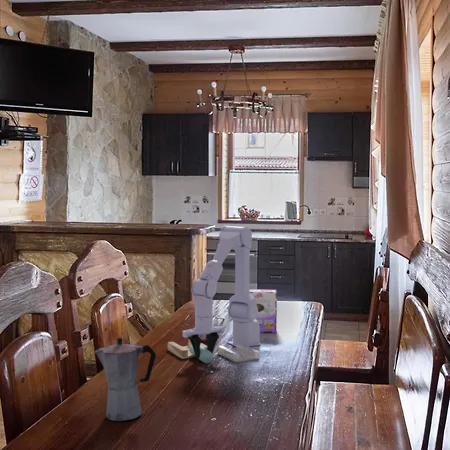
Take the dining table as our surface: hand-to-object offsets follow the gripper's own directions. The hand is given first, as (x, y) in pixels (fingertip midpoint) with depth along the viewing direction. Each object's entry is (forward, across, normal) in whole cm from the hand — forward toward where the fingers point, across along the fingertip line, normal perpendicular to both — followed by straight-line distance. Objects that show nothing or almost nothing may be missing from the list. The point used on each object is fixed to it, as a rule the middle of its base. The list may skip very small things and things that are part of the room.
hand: (203, 356), depth 204 cm
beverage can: (+2, -13, -25) cm, 28 cm away
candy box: (+2, -38, -26) cm, 46 cm away
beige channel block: (+2, 0, -12) cm, 12 cm away
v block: (+2, -13, 0) cm, 13 cm away
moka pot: (+2, +39, +32) cm, 51 cm away
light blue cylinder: (-1, 0, -2) cm, 2 cm away
